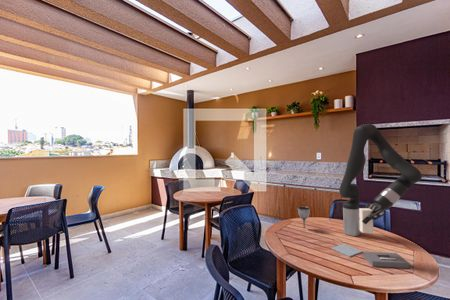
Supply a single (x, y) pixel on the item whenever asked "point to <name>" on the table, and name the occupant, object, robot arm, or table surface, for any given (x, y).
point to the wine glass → (304, 213)
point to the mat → (346, 250)
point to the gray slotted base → (386, 260)
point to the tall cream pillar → (362, 215)
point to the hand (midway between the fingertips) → (362, 221)
